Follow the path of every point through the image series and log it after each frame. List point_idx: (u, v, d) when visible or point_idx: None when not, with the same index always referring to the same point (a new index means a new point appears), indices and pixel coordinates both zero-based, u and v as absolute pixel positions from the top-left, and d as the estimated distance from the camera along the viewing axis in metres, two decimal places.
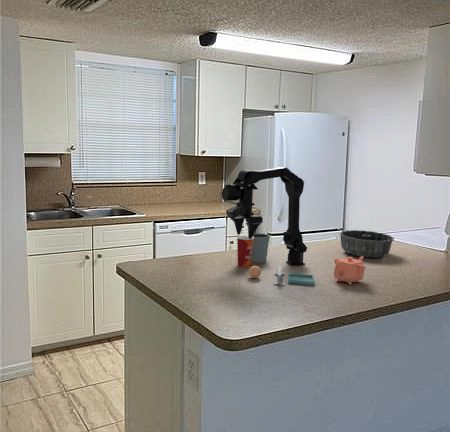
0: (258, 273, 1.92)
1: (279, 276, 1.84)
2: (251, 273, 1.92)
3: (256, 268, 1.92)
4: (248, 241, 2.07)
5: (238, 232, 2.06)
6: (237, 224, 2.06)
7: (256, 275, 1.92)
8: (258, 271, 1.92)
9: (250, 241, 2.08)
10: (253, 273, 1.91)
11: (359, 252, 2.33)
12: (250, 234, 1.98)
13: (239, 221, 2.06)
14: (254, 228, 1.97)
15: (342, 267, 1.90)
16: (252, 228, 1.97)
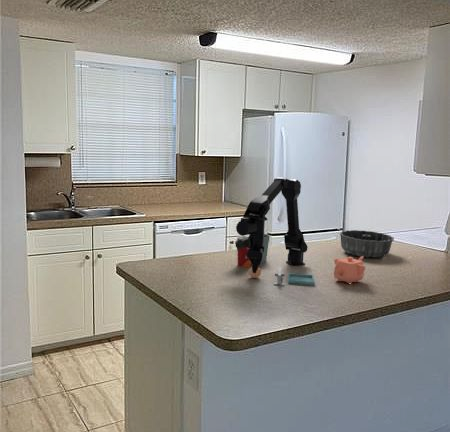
0: (258, 273, 1.92)
1: (279, 276, 1.84)
2: (251, 273, 1.92)
3: None
4: None
5: None
6: None
7: (256, 275, 1.92)
8: (258, 271, 1.92)
9: None
10: (253, 273, 1.91)
11: (359, 252, 2.33)
12: (253, 268, 1.88)
13: None
14: (257, 262, 1.87)
15: (342, 267, 1.90)
16: (255, 262, 1.87)
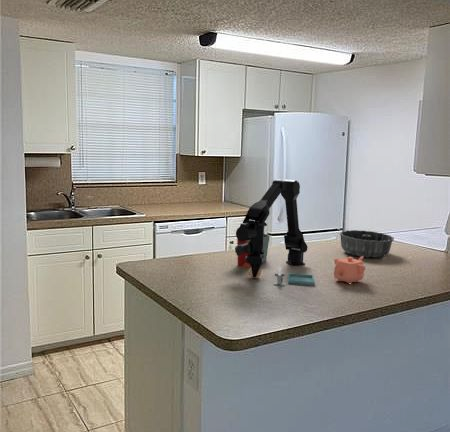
0: (258, 273, 1.92)
1: (279, 276, 1.84)
2: (251, 273, 1.92)
3: None
4: None
5: None
6: None
7: None
8: (258, 271, 1.92)
9: None
10: None
11: (359, 252, 2.33)
12: (253, 272, 1.90)
13: None
14: (257, 266, 1.89)
15: (342, 267, 1.90)
16: (255, 267, 1.89)
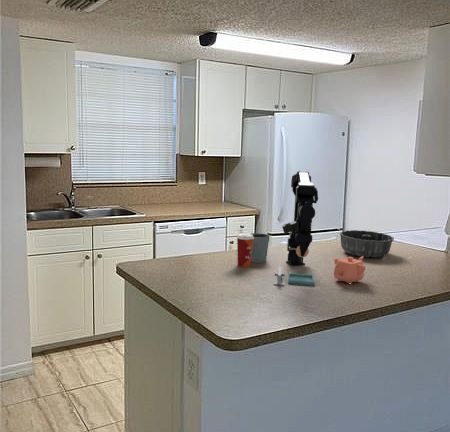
0: (306, 252, 1.88)
1: (279, 276, 1.84)
2: (299, 252, 1.88)
3: None
4: (248, 241, 2.07)
5: None
6: None
7: None
8: None
9: (250, 241, 2.08)
10: None
11: (359, 252, 2.33)
12: (301, 251, 1.87)
13: None
14: (306, 245, 1.85)
15: (342, 267, 1.90)
16: (303, 245, 1.86)
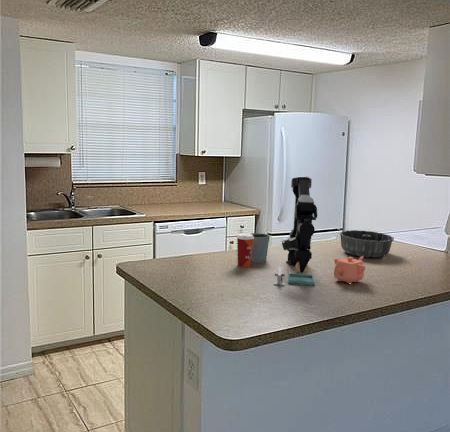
0: (305, 268, 1.89)
1: (279, 276, 1.84)
2: (298, 268, 1.89)
3: None
4: (248, 241, 2.07)
5: None
6: None
7: None
8: None
9: (250, 241, 2.08)
10: None
11: (359, 252, 2.33)
12: (301, 268, 1.88)
13: None
14: (305, 261, 1.86)
15: (342, 267, 1.90)
16: (303, 262, 1.87)
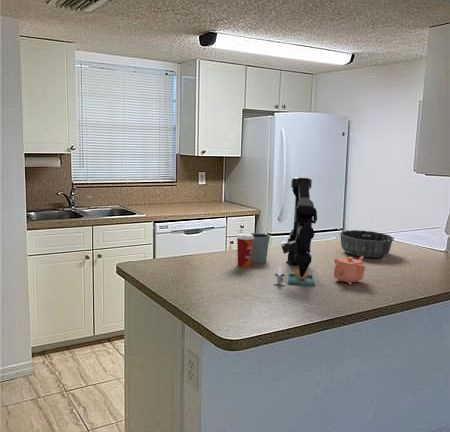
0: (305, 275, 1.89)
1: (279, 276, 1.84)
2: (298, 275, 1.90)
3: None
4: (248, 241, 2.07)
5: None
6: None
7: (303, 277, 1.89)
8: (305, 273, 1.89)
9: (250, 241, 2.08)
10: None
11: (359, 252, 2.33)
12: (301, 272, 1.86)
13: None
14: (305, 266, 1.85)
15: (342, 267, 1.90)
16: (303, 266, 1.85)
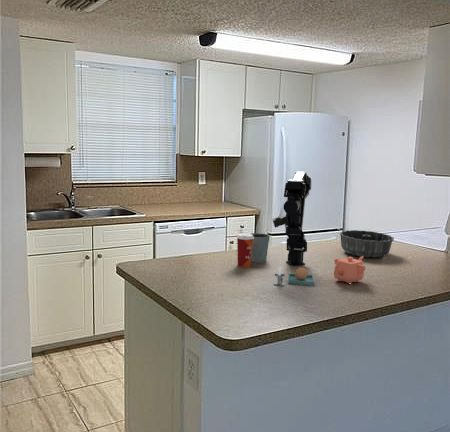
0: (305, 275, 1.89)
1: (279, 276, 1.84)
2: (298, 275, 1.90)
3: (303, 270, 1.90)
4: (248, 241, 2.07)
5: None
6: None
7: (303, 277, 1.89)
8: (305, 273, 1.89)
9: (250, 241, 2.08)
10: (300, 275, 1.89)
11: (359, 252, 2.33)
12: (291, 245, 1.95)
13: None
14: (295, 239, 1.94)
15: (342, 267, 1.90)
16: (293, 239, 1.94)
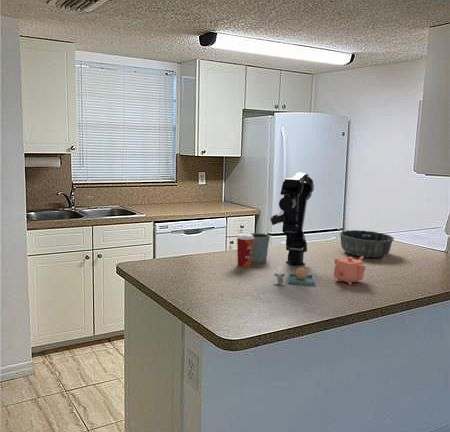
0: (305, 275, 1.90)
1: (279, 276, 1.84)
2: (298, 275, 1.90)
3: (303, 270, 1.90)
4: (248, 241, 2.07)
5: None
6: None
7: (303, 277, 1.89)
8: (305, 273, 1.90)
9: (250, 241, 2.08)
10: (300, 275, 1.89)
11: (359, 252, 2.33)
12: (288, 242, 1.97)
13: None
14: (292, 236, 1.96)
15: (342, 267, 1.90)
16: (290, 236, 1.96)
